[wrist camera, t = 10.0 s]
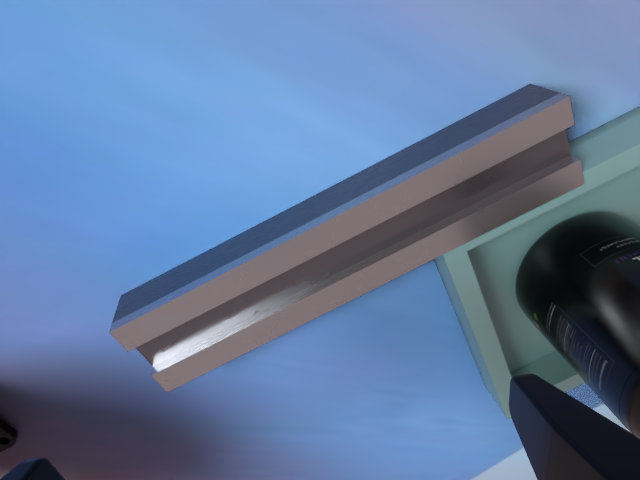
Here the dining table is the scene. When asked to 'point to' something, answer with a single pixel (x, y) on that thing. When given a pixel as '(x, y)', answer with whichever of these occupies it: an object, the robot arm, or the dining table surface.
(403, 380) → the dining table surface
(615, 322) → the supplement bottle
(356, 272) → the t-slot rail
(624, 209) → the tray
